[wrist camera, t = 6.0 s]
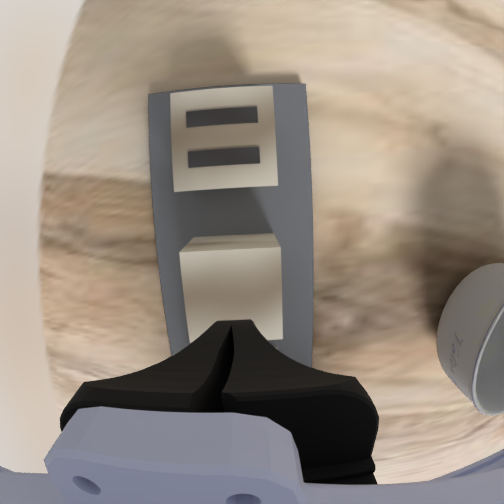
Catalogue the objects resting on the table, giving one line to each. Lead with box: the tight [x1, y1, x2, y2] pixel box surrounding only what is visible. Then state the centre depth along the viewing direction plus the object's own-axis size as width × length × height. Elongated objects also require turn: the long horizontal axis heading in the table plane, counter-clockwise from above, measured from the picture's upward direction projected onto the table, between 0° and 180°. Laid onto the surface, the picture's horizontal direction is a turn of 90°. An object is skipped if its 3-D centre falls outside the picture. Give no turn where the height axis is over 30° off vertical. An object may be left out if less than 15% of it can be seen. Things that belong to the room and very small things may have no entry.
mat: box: [148, 83, 313, 368], centre depth 21 cm, size 24×10×1 cm, turn 3°
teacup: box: [437, 263, 504, 416], centre depth 19 cm, size 14×11×8 cm
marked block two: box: [170, 86, 278, 192], centre depth 17 cm, size 5×5×5 cm
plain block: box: [179, 233, 283, 343], centre depth 19 cm, size 5×5×4 cm
